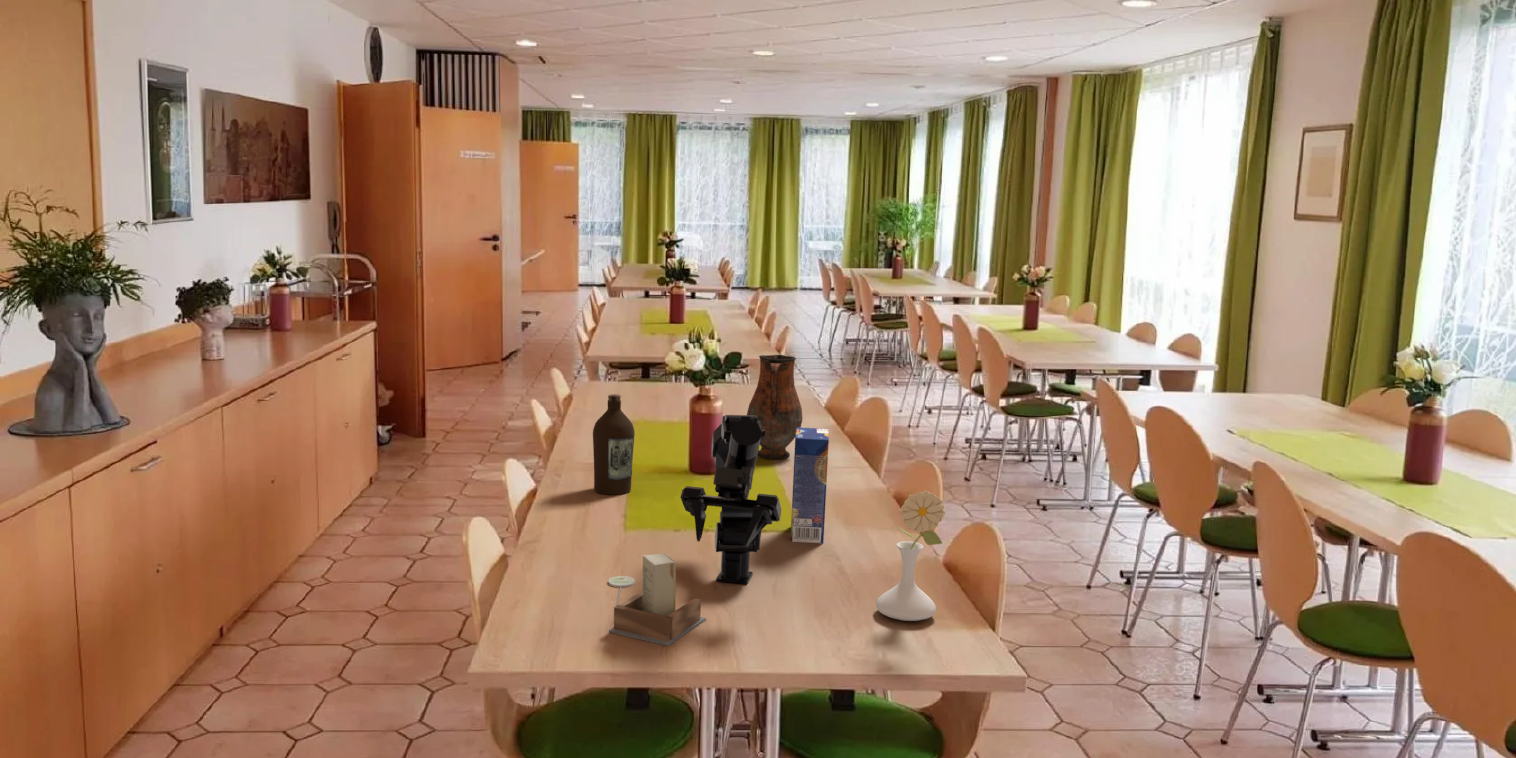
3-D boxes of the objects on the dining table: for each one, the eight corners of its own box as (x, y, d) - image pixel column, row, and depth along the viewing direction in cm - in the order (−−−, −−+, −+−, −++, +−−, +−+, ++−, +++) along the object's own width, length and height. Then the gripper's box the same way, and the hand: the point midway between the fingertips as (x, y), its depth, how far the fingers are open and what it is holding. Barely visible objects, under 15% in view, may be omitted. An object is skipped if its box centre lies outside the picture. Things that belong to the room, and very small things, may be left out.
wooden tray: (647, 608, 214) (648, 587, 213) (700, 620, 209) (700, 599, 209) (613, 628, 204) (614, 607, 203) (668, 641, 199) (668, 619, 198)
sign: (602, 603, 216) (609, 575, 231) (602, 608, 216) (609, 579, 231) (630, 604, 216) (635, 576, 231) (630, 608, 216) (635, 580, 231)
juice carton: (823, 543, 259) (828, 440, 255) (790, 541, 259) (795, 438, 255) (823, 528, 270) (828, 428, 266) (791, 526, 271) (796, 427, 267)
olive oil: (584, 488, 297) (586, 393, 293) (620, 483, 303) (622, 390, 299) (604, 497, 288) (606, 400, 284) (640, 492, 294) (643, 397, 290)
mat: (649, 607, 215) (649, 605, 215) (705, 620, 210) (706, 618, 210) (609, 632, 203) (609, 629, 203) (667, 646, 198) (667, 643, 198)
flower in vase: (862, 613, 217) (870, 485, 213) (900, 600, 225) (908, 476, 221) (917, 634, 208) (926, 501, 204) (955, 619, 216) (964, 491, 212)
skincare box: (675, 628, 205) (677, 562, 203) (653, 631, 203) (654, 565, 201) (663, 615, 211) (664, 551, 209) (640, 618, 209) (642, 554, 207)
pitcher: (801, 450, 349) (806, 353, 344) (798, 467, 328) (803, 364, 323) (747, 447, 350) (751, 350, 345) (741, 463, 329) (745, 360, 324)
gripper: (684, 444, 217) (665, 516, 209) (780, 454, 213) (764, 527, 204) (695, 475, 226) (677, 545, 217) (787, 484, 222) (772, 556, 213)
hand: (721, 543), depth 213 cm, fingers open, 9 cm apart
